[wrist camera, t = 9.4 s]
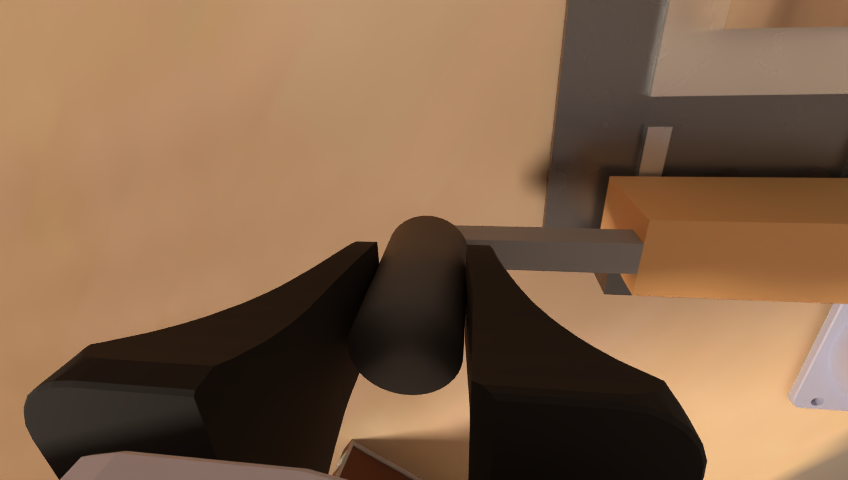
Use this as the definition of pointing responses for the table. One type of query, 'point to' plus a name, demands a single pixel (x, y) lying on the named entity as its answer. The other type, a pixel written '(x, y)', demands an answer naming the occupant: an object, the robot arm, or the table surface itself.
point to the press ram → (608, 262)
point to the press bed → (688, 103)
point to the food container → (368, 465)
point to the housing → (786, 13)
